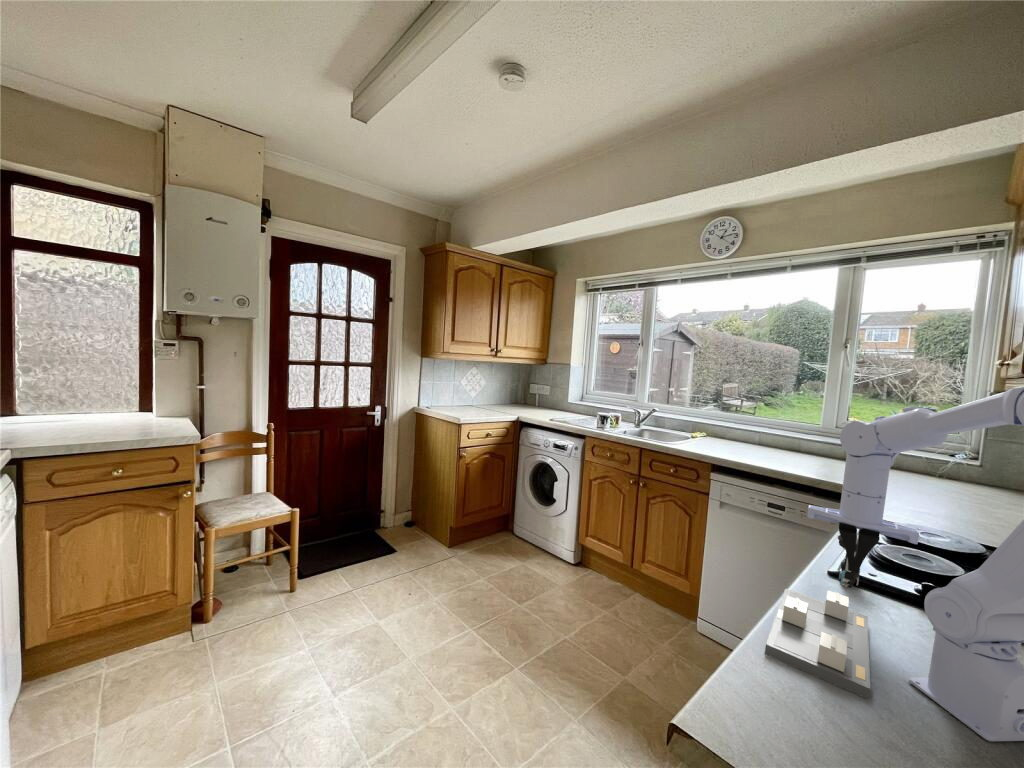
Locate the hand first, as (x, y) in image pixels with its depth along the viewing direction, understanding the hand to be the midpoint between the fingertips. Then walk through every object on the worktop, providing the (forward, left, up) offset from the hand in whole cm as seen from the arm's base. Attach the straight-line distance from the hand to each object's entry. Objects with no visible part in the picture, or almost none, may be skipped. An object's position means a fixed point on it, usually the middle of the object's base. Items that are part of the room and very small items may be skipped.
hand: (853, 569), depth 73 cm
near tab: (-11, +13, -8) cm, 19 cm away
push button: (+13, -12, -10) cm, 20 cm away
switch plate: (-4, +9, -9) cm, 14 cm away
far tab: (0, +2, -8) cm, 8 cm away
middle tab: (-2, +12, -8) cm, 14 cm away
